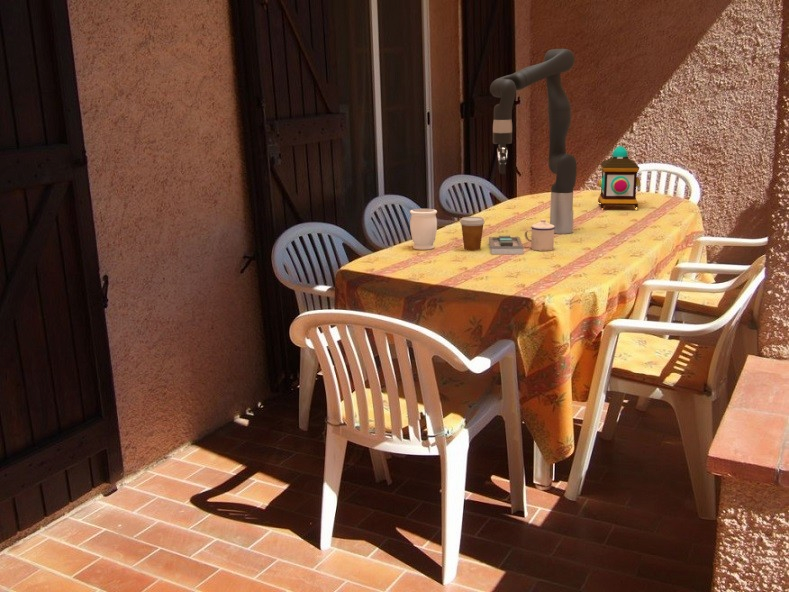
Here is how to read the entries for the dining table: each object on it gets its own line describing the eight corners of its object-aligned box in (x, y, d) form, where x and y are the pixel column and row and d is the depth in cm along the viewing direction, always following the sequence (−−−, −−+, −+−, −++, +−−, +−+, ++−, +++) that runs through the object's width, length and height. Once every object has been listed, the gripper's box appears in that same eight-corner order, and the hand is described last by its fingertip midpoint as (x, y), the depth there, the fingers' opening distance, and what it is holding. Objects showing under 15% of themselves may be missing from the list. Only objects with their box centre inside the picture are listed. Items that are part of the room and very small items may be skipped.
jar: (418, 251, 341) (418, 213, 337) (405, 247, 350) (405, 209, 346) (441, 248, 346) (441, 211, 342) (428, 244, 354) (428, 207, 350)
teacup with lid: (557, 247, 344) (558, 218, 341) (549, 252, 337) (550, 222, 334) (528, 244, 350) (529, 216, 347) (519, 249, 343) (520, 219, 340)
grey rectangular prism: (510, 239, 349) (510, 235, 348) (510, 241, 346) (510, 237, 345) (498, 239, 349) (498, 235, 349) (499, 241, 346) (499, 237, 346)
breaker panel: (518, 244, 352) (519, 236, 351) (523, 254, 334) (523, 246, 333) (488, 244, 352) (488, 237, 351) (491, 254, 335) (491, 246, 334)
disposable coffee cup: (484, 246, 349) (484, 216, 346) (484, 251, 340) (484, 220, 337) (460, 246, 350) (460, 216, 347) (459, 251, 341) (459, 220, 338)
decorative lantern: (595, 204, 443) (597, 144, 435) (635, 204, 440) (639, 144, 432) (598, 211, 424) (601, 148, 416) (640, 211, 421) (644, 148, 413)
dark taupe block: (512, 244, 339) (512, 240, 339) (512, 246, 336) (512, 242, 336) (500, 244, 339) (500, 240, 339) (501, 246, 336) (501, 242, 336)
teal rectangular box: (511, 242, 344) (511, 238, 344) (511, 243, 341) (511, 239, 341) (499, 242, 344) (499, 238, 344) (500, 244, 341) (500, 239, 341)
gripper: (513, 132, 339) (512, 174, 343) (510, 129, 353) (510, 170, 357) (493, 132, 339) (493, 174, 344) (492, 129, 353) (491, 170, 357)
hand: (501, 172), depth 350 cm, fingers open, 8 cm apart
